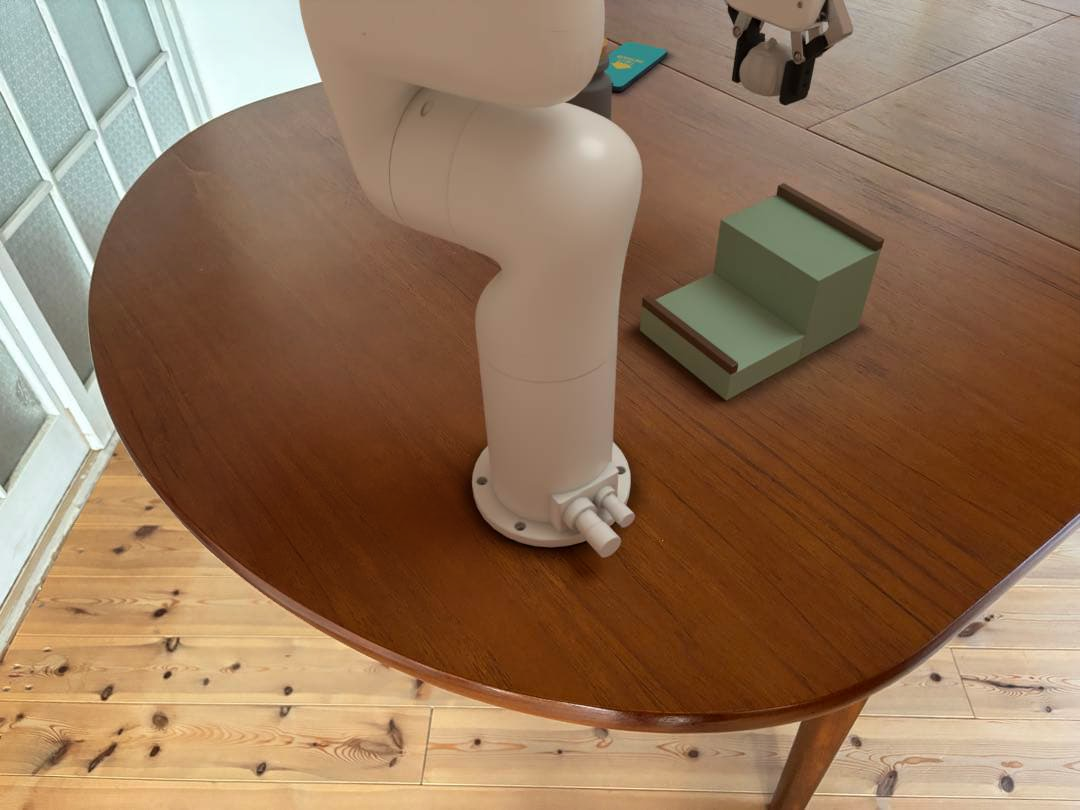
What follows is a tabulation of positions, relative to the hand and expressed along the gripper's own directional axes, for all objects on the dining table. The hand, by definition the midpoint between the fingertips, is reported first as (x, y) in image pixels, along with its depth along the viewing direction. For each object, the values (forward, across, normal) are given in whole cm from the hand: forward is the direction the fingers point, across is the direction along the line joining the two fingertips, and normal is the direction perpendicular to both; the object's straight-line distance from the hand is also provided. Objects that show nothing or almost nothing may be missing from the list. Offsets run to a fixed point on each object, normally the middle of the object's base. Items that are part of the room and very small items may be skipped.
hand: (768, 87), depth 82 cm
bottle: (+17, -24, -4) cm, 29 cm away
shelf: (+17, +11, -10) cm, 23 cm away
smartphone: (+16, -42, +17) cm, 49 cm away
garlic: (+1, 0, 0) cm, 1 cm away
